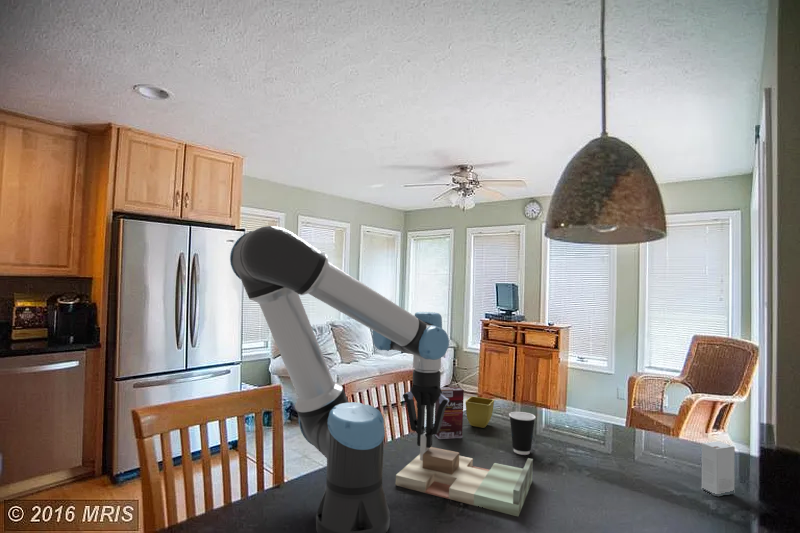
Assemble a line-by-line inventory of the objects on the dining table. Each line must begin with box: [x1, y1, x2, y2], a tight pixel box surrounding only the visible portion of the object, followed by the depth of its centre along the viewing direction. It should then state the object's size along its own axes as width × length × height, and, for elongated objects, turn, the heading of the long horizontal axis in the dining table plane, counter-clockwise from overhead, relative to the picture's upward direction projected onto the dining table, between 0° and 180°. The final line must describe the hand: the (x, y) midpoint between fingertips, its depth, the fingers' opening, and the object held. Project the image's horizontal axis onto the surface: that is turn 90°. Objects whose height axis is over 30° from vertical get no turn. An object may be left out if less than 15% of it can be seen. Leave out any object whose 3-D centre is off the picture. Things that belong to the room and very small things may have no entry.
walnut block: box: [423, 446, 460, 475], centre depth 112 cm, size 6×8×4 cm
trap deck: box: [395, 453, 534, 517], centre depth 109 cm, size 20×30×6 cm, turn 64°
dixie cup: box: [508, 411, 537, 456], centre depth 132 cm, size 8×8×11 cm
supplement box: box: [433, 386, 465, 440], centre depth 143 cm, size 9×5×16 cm, turn 105°
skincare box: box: [701, 441, 736, 494], centre depth 108 cm, size 6×4×12 cm
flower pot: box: [465, 396, 495, 429], centre depth 156 cm, size 9×9×9 cm
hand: (424, 458), depth 114 cm, fingers closed
